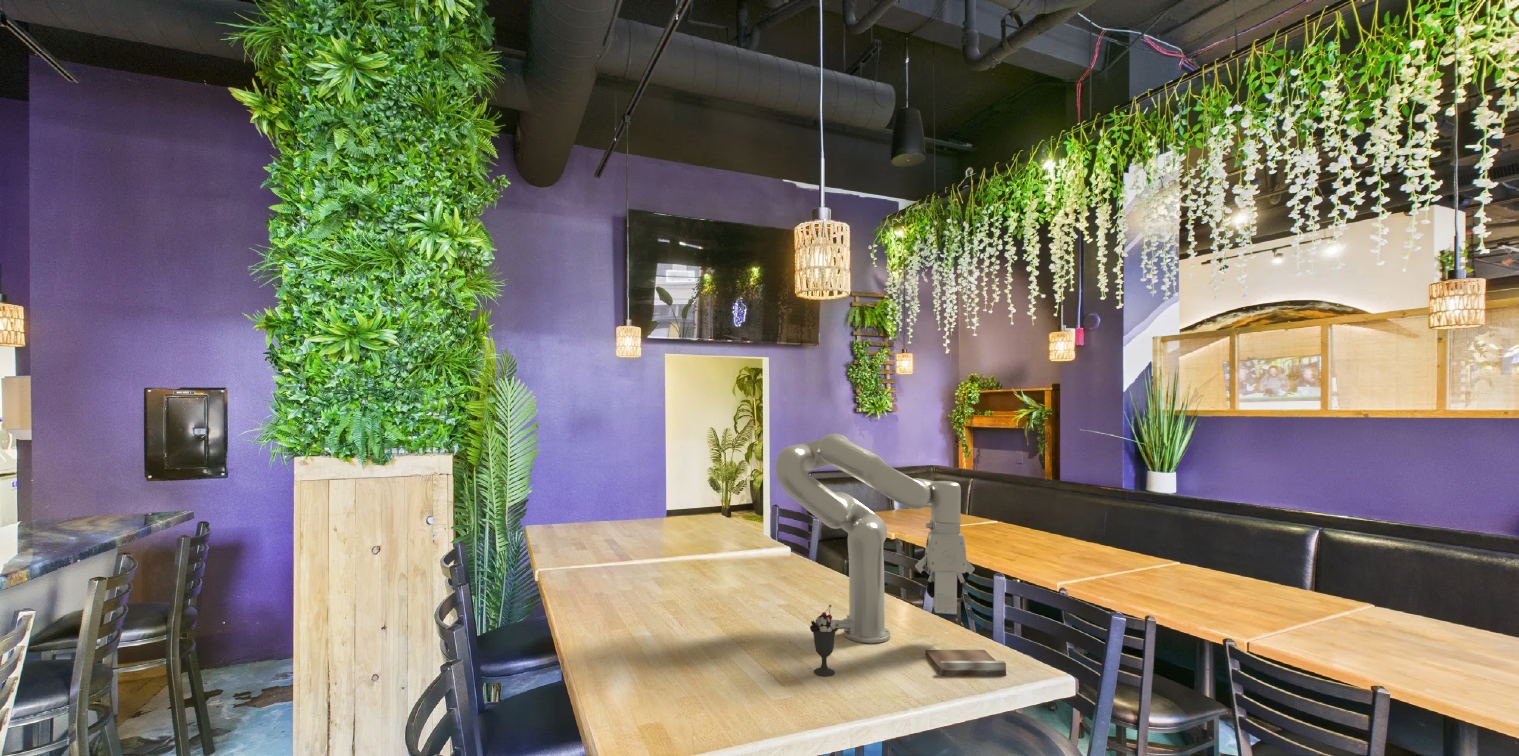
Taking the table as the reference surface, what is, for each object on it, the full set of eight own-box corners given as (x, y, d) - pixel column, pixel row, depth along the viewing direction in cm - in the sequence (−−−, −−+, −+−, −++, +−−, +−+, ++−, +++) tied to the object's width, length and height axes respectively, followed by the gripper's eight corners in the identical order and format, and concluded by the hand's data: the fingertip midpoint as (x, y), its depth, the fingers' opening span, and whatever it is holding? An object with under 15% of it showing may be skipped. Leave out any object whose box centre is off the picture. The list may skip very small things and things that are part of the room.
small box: (956, 615, 160) (957, 573, 161) (934, 612, 161) (935, 571, 162) (953, 606, 168) (954, 566, 169) (932, 604, 169) (932, 564, 170)
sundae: (841, 668, 147) (841, 603, 148) (835, 679, 141) (835, 611, 142) (813, 664, 149) (814, 600, 150) (806, 675, 143) (806, 608, 144)
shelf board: (941, 675, 144) (941, 662, 144) (925, 654, 157) (925, 643, 157) (1006, 675, 144) (1005, 662, 144) (984, 654, 157) (984, 643, 157)
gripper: (917, 529, 162) (915, 599, 161) (983, 531, 162) (982, 601, 161) (909, 524, 170) (908, 591, 168) (972, 526, 170) (971, 593, 169)
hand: (944, 595), depth 165 cm, fingers closed on small box, 6 cm apart
